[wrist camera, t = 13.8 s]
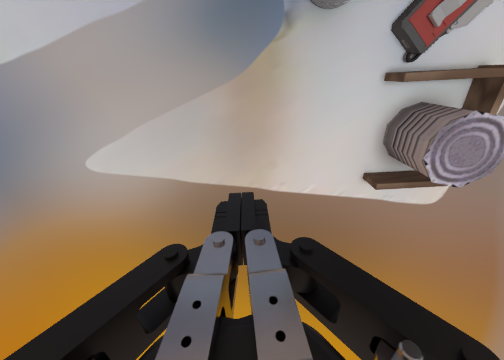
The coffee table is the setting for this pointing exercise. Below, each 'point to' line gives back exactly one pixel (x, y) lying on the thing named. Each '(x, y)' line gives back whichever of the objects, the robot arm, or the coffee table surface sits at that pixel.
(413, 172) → the walnut bay
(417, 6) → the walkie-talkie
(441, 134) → the can
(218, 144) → the coffee table surface
